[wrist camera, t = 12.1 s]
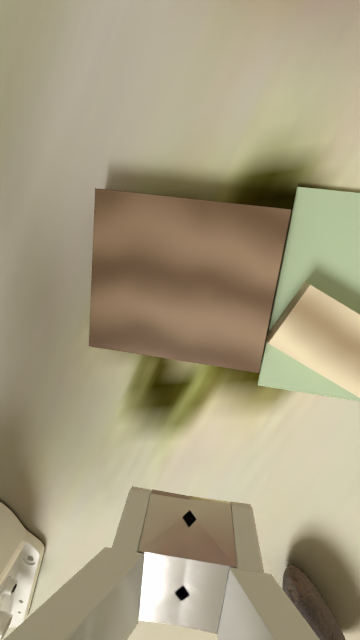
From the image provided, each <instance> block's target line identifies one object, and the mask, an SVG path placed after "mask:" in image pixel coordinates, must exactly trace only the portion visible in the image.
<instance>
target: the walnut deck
mask: <svg viewBox="0 0 360 640" xmlns="http://www.w3.org/2000/svg"><path fill="white" fill-rule="evenodd" d="M290 214H291V210H290V209H281V208H272V207H262V206H253V205H244V204H235V203H225V202H216V201H207V200H198V199H188V198H179V197H170V196H160V195H151V194H142V193H133V192H123V191H114V190H105V189H96V188H95V210H94V235H93V259H92V284H91V309H90V334H89V346H91V347H98V348H104V349H110V350H117V351H123V352H130V353H136V354H142V355H149V356H155V357H161V358H168V359H174V360H180V361H187V362H193V363H200V364H206V365H212V366H219V367H225V368H231V369H238V370H244V371H251V372H257V373H259V369H260V364H261V359H262V354H263V349H264V344H265V339H266V334H267V329H268V324H269V319H270V314H271V309H272V304H273V299H274V294H275V289H276V284H277V279H278V274H279V269H280V264H281V259H282V254H283V249H284V244H285V239H286V234H287V229H288V224H289V219H290Z"/></svg>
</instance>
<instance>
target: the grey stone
mask: <svg viewBox="0 0 360 640" xmlns="http://www.w3.org/2000/svg"><path fill="white" fill-rule="evenodd" d="M283 591H284V592H285V594H286V595H287V596H288V598H289V599H290V600H291V602H292V603H293V604H294V606H295V607H296V608H297V610H298V611H299V612H300V614H301V615H302V616H303V618H304V619H305V620H306V622H307V623H308V624H309V626H310V627H311V629H312V630H313V631H314V633H315V634H316V635H317V637H318V638H319V639H320V640H345V637H344V635H343V633H342V631H341V629H340V627H339V625H338V623H337V621H336V619H335V617H334V615H333V614H332V612H331V610H330V609H329V607H328V606H327V604H326V602H325V601H324V599H323V598H322V596H321V595H320V593H319V592H318V590H317V589H316V587H315V586H314V585H313V583H312V582H311V581H310V579H309V578H308V577H307V576H306V575H305V574H304V573H303V572H302V571H301V570H299V569H298V568H297V567H295V566H293V565H290V566H288V567H287V568H286V570H285V572H284V576H283Z"/></svg>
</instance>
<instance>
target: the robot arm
mask: <svg viewBox="0 0 360 640" xmlns="http://www.w3.org/2000/svg"><path fill="white" fill-rule="evenodd" d="M43 554H44V545H43V543H42V542H41V541H40V540H39V539H37V538H36V537H35V536H34V535H32V534H31V533H29V532H28V531H27V530H26V529H25V528H24V527H23V525H22V524H21V523H20V521H19V520H18V518H17V517H16V516H15V515H14V514H13V512H12V511H11V510H10V509H9V508H7V507H6V506H5V505H4V504H3V503H1V502H0V640H2V639H3V637H4V635H5V634H6V632H7V630H8V628H9V627H16V626H18V627H17V628H16V629H15V630H14V631H13V632H12V633H11V634H9V635H8V636H7V637H6V638H5V639H4V640H127V639H128V637H129V636H130V634H131V633H132V631H133V630H134V628H135V627H136V625H137V624H138V620H142V621H149V622H156V623H163V624H171V625H178V626H182V627H187V628H192V629H196V630H201V631H206V632H211V633H215V634H218V635H217V637H218V640H320V639H319V638H318V637H317V635H316V634H315V633H314V631H313V630H312V629H311V627H310V626H309V624H308V623H307V622H306V620H305V619H304V618H303V616H302V615H301V614H300V612H299V611H298V610H297V608H296V607H295V606H294V604H293V603H292V602H291V600H290V599H289V598H288V596H287V595H286V594H285V592H284V591H283V590H282V588H281V587H280V586H279V584H278V583H277V582H276V580H275V579H274V577H273V576H272V575H271V574H266V573H264V569H263V563H262V558H261V553H260V547H259V542H258V536H257V531H256V525H255V520H254V514H253V509H252V507H251V505H250V504H244V503H236V502H228V501H221V500H214V499H207V498H200V497H193V496H185V495H180V494H174V493H169V492H163V491H157V490H149V489H143V488H138V487H133V486H132V488H131V489H130V491H129V494H128V497H127V500H126V504H125V507H124V510H123V513H122V516H121V520H120V523H119V526H118V529H117V533H116V536H115V539H114V542H113V545H112V548H107V547H105V548H104V549H103V550H102V551H100V552H99V553H98V554H97V555H96V556H95V557H94V558H93V559H92V560H91V561H89V562H88V563H87V564H86V565H85V566H84V567H83V568H82V569H81V570H80V571H79V572H77V573H76V574H75V575H74V576H73V577H72V578H71V579H70V580H69V581H68V582H66V583H65V584H64V585H63V586H62V587H61V588H60V589H59V590H58V591H57V592H55V593H54V594H53V595H52V596H51V597H50V598H49V599H48V600H47V601H46V602H45V603H43V604H42V605H41V606H40V607H39V608H38V609H37V610H36V611H35V612H34V613H32V614H31V615H30V616H29V617H28V618H27V615H28V612H29V608H30V604H31V600H32V597H33V593H34V589H35V585H36V581H37V577H38V573H39V569H40V565H41V561H42V558H43ZM26 618H27V619H26ZM25 619H26V620H25Z"/></svg>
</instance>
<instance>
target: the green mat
mask: <svg viewBox="0 0 360 640" xmlns="http://www.w3.org/2000/svg"><path fill="white" fill-rule="evenodd" d="M304 282H305V283H308V284H310V285H312V286H313V287H315V288H317V289H318V290H320V291H321V292H323V293H325V294H326V295H328V296H330V297H331V298H333V299H335V300H336V301H338V302H340V303H341V304H343V305H345V306H346V307H348V308H350V309H351V310H353V311H355V312H356V313H358V314H360V193H355V192H345V191H335V190H325V189H315V188H305V187H297V190H296V195H295V200H294V205H293V210H292V215H291V220H290V225H289V230H288V235H287V240H286V245H285V250H284V255H283V260H282V265H281V270H280V275H279V280H278V285H277V290H276V295H275V300H274V305H273V310H272V315H271V320H270V325H269V330H268V333H269V331H270V330H271V328H272V327H273V326H274V324H275V323H276V321H277V320H278V319H279V317H280V316H281V314H282V313H283V311H284V310H285V309H286V307H287V306H288V304H289V303H290V302H291V300H292V299H293V297H294V296H295V295H296V293H297V292H298V290H299V289H300V287H301V286H302V285H303V283H304ZM258 385H260V386H266V387H272V388H279V389H285V390H291V391H297V392H304V393H310V394H316V395H322V396H328V397H335V398H341V399H347V400H353V401H360V398H359V397H357V396H356V395H354V394H352V393H351V392H349V391H347V390H345V389H344V388H342V387H340V386H339V385H337V384H335V383H334V382H332V381H330V380H329V379H327V378H325V377H324V376H322V375H320V374H319V373H317V372H315V371H314V370H312V369H310V368H309V367H307V366H305V365H304V364H302V363H300V362H299V361H297V360H295V359H293V358H292V357H290V356H288V355H287V354H285V353H283V352H282V351H280V350H278V349H277V348H275V347H273V346H272V345H270V344H268V342H267V340H266V344H265V349H264V354H263V359H262V364H261V369H260V374H259V379H258Z"/></svg>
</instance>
